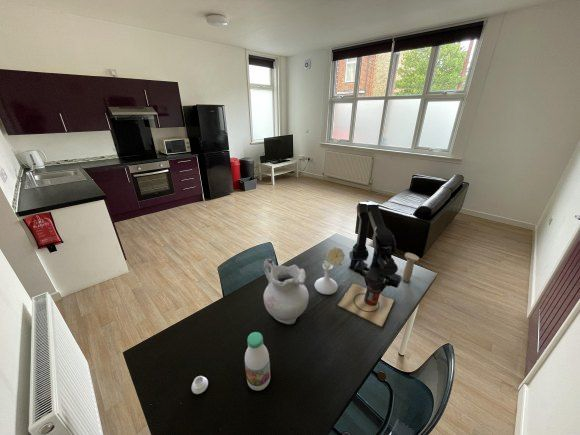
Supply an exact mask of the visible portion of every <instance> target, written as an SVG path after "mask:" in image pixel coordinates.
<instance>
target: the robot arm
mask: <svg viewBox="0 0 580 435" xmlns="http://www.w3.org/2000/svg"><path fill="white" fill-rule="evenodd" d="M379 207H380V206H379V204H378V203H373V202H359V203H358V204H357V205H356V214H357V216H358V218H359V221H358V227H357V228H358V229H357V235H356V236H357V237H356V243H355V244H354V245H352V249H351V250H350V251H349V254H348V256H349V259H350V266H348V269H349V270H352V271H354V273H357V274H359V276H361V277H363V279H364V283H365V287H367V286H368V283H369V282H370V283H372V284H374V285H377V284H380V283H382V284H383V286H382V289H381V293H382V292H384V290H385V289H386V288H387V287H393V288H395V289H397V288H399V286H400V284H401V282H402V276H401V275H400V274H398V270H399V268H398V267H399V266H398V265H397V263H396V262H395V259H394V257H392V256H393V255H396V254H397V249H398V248H397V243H396V239H395V236H394V234H393V233H392V231H391V230H390V229H389V228H388V227H386V225H385V223H384V220H383V217H382V215H381V212H380V208H379ZM370 224H371V227H372V230H373V235H372V245H373V246H372V247H373V253H372V260H371V262H370V266H368V263H366V262H367V260H368V258H369V257H370V256H369V255H370V253H369V250H368V248H367V246H366V245H367V239H368V232H369V225H370ZM383 282H384V283H383Z"/></svg>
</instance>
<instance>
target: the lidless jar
mask: <svg viewBox="0 0 580 435" xmlns="http://www.w3.org/2000/svg"><path fill="white" fill-rule="evenodd" d="M208 386H209V380H208V379H207V377H205V376H203V375H199V376H196V377H195V378H194V379H193V382H192V384H191V392H192V393H193V394H195V395H199V394H203V392H205V391H206V390H207V388H208Z"/></svg>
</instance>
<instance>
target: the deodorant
mask: <svg viewBox="0 0 580 435" xmlns="http://www.w3.org/2000/svg"><path fill="white" fill-rule="evenodd" d="M383 283H384V282H383ZM382 286H383V284H382V283H380V284H377V285H374V284H372V283H370V282H369V283H368V286H366V289H367V290H366V294H365V297H364V301H365V303H366V304H368V305H370V306H375V305H377V302H378V299H379V296H380V295H381V293H382V292H381V289H382Z"/></svg>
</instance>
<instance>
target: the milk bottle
mask: <svg viewBox="0 0 580 435" xmlns="http://www.w3.org/2000/svg"><path fill="white" fill-rule="evenodd" d="M246 339H247V340H246V341H247V349H246V350H245V353H244V366H245V374H246V375H245V376H246V381H247V386H248V387H249V388H250V389H251V390H253V391H262V390H264V389H265V388H266V387H267V386H268V385H269V383H270V381H271V363H270V354H269V351H268V348H267V347H266V345H265V344H264V337H263V335H262V333H260V332H258V331H253V332H251V333H250V334H249V335H248V336H247V338H246Z"/></svg>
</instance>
